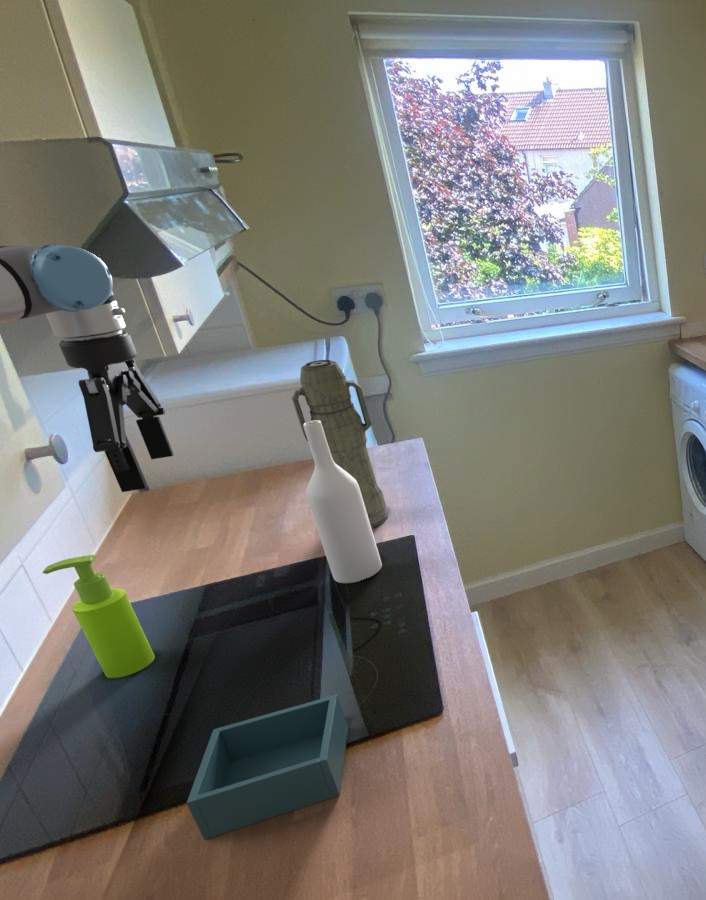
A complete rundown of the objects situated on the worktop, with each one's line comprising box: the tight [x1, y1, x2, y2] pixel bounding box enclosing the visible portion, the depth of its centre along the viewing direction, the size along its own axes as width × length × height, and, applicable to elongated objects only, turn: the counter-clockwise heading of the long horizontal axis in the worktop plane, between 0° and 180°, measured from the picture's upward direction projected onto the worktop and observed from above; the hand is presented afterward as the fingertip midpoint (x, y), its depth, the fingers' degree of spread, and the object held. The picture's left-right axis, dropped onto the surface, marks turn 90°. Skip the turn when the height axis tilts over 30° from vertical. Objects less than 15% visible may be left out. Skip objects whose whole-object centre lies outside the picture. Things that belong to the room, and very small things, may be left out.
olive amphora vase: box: [291, 359, 389, 529], centre depth 150 cm, size 9×12×35 cm
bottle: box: [303, 420, 383, 584], centre depth 131 cm, size 8×8×30 cm
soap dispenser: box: [41, 554, 156, 679], centre depth 108 cm, size 6×7×20 cm
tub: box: [186, 694, 349, 841], centre depth 91 cm, size 14×13×6 cm
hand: (149, 472), depth 111 cm, fingers open, 13 cm apart
